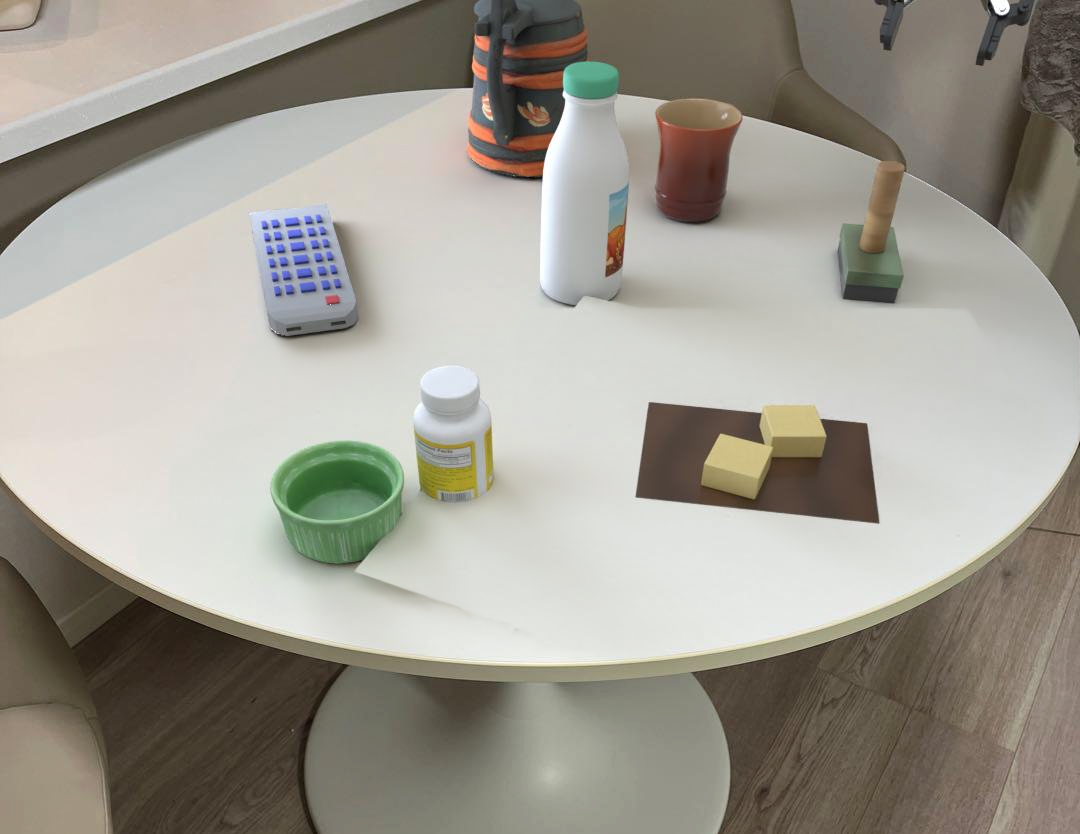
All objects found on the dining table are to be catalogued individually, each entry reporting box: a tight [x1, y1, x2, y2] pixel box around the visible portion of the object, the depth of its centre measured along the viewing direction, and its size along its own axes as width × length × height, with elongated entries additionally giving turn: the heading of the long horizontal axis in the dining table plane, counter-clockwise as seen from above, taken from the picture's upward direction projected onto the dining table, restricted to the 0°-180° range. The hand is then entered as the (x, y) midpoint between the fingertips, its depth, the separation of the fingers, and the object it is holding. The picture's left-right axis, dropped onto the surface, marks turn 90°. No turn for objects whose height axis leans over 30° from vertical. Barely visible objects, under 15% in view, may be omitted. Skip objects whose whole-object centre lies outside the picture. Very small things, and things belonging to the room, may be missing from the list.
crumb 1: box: [701, 434, 773, 500], centre depth 76 cm, size 4×4×2 cm
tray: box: [634, 401, 880, 525], centre depth 79 cm, size 17×12×2 cm
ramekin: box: [269, 439, 405, 564], centre depth 73 cm, size 9×9×4 cm
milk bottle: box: [539, 61, 630, 306], centre depth 93 cm, size 8×8×20 cm
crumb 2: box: [760, 404, 826, 458], centre depth 79 cm, size 4×4×2 cm
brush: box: [837, 160, 906, 304], centre depth 99 cm, size 5×10×11 cm, turn 171°
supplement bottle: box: [412, 365, 495, 503], centre depth 74 cm, size 5×5×10 cm
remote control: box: [249, 203, 359, 337], centre depth 101 cm, size 8×23×2 cm, turn 16°
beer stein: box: [466, 0, 590, 178], centre depth 115 cm, size 19×15×20 cm
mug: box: [654, 97, 744, 223], centre depth 110 cm, size 12×9×10 cm
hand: (933, 53), depth 98 cm, fingers open, 8 cm apart
